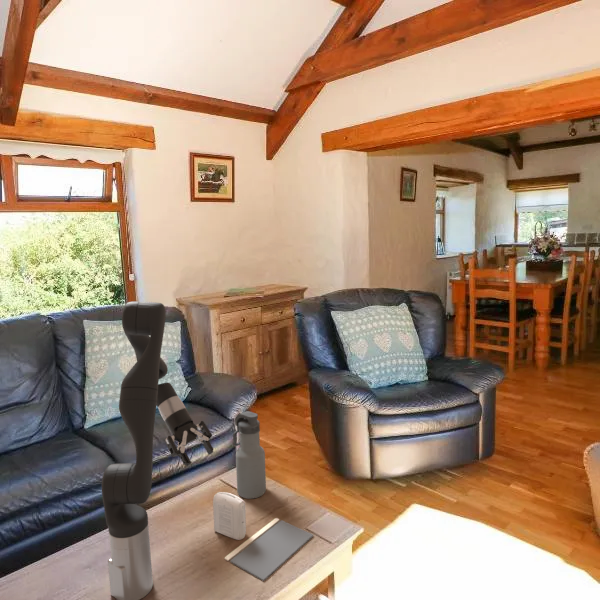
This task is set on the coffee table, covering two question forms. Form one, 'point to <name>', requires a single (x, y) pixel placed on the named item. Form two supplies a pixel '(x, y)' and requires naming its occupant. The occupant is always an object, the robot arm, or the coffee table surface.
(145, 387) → the robot arm
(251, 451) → the water bottle
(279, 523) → the mat
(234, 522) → the photo printer
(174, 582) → the coffee table surface
